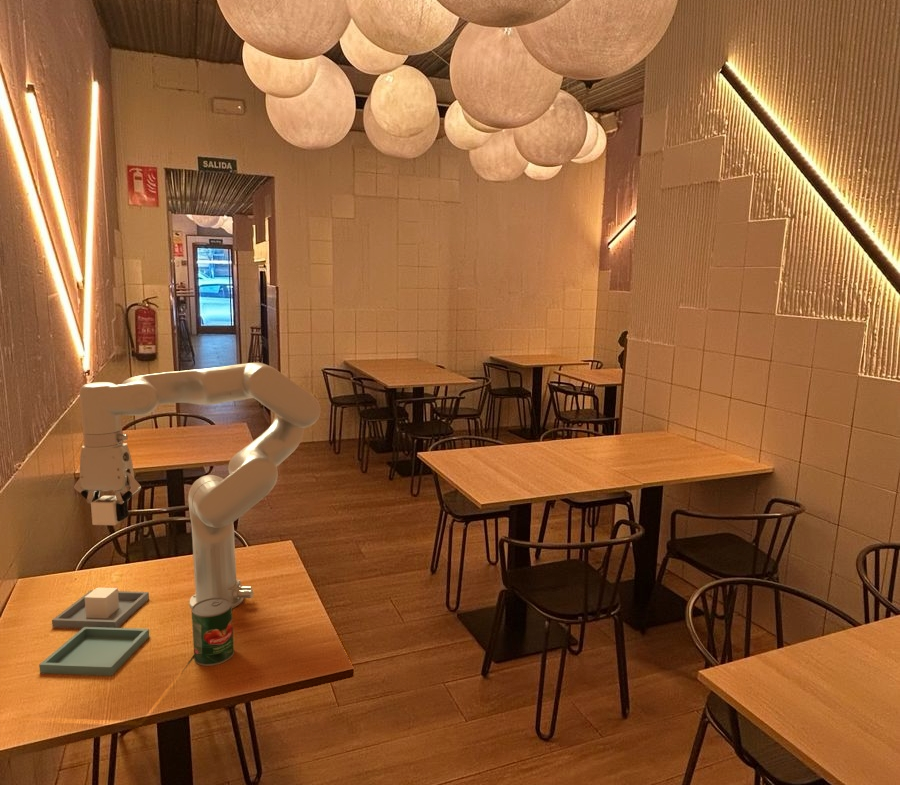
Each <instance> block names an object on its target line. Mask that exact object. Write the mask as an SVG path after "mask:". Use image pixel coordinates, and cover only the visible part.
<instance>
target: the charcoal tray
mask: <svg viewBox="0 0 900 785" xmlns="http://www.w3.org/2000/svg"><path fill="white" fill-rule="evenodd" d="M93 590H94V589H92V590H90V591H88V592H87V593H85V594H84V595H83V596H82V597H80V598H79V599H77V600H76V601H75V602H73V603H72V604H71V605H70V606H68V607H67V608H65V609H64V610H63V611H62V612H61V613H59V614H58V615H56V616H55V617H54V618H53V619H51V623H52V624H51V626H52V629H78V630H81V629H82V628H83V627H105V628H120V626H122V625H123V624H124V623H125V622H126V621H127V620H128V619H129V618H130V617H132V616H133V615H134V613H135V612H137V611H138V610H139V609H141V607H142V606H144V605H145V603H147V601H149V600H150V594H149V591H130V590H129V591H127V590H125V591H124V590H118V598H119V608H118V609H117V610H116V611H115V612H114V613H113V614H111V615H110V616H109V617H108V618H86V609H85V598H84V597H85V596H87V595H88V594H89V593H91V592H92V591H93Z"/></svg>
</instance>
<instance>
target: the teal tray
mask: <svg viewBox="0 0 900 785" xmlns="http://www.w3.org/2000/svg"><path fill="white" fill-rule="evenodd" d="M149 638H150V629H149V628H134V627H133V628H131V627H127V628H126V627H125V628H124V627H118V628H105V627H83V628H82V629H79V630H78V631H77V632H76V633H75V634H74V635H73V636H71V637H70V638H69V639H68V640H67V641H66V642H65V643H63V644H62V645H61V646H60V647H58V648H57V649H55V650H54V652H52V653H51V654H50V655H49V656H48V657H47V658H45V659H44V660H42V662H41V663H39V673H40V674H48V675H49V674H50V675H52V674H54V675H73V676H74V675H76V676H77V675H79V676H101V677H102V676H103V677H104V676H105V677H112V676H113V675H114V674H115V673H116V672H117V671H118V670H119V669H120V668H121V667H122V666H123V665H124V664H125V663H126V662H127V661H128V659H129V658H131V656H133V655H134V654H135V653H136V652H137V650H139V648H140V647H141V646H142V645H144V643H145V642H146V641H147V640H148V639H149Z"/></svg>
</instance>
